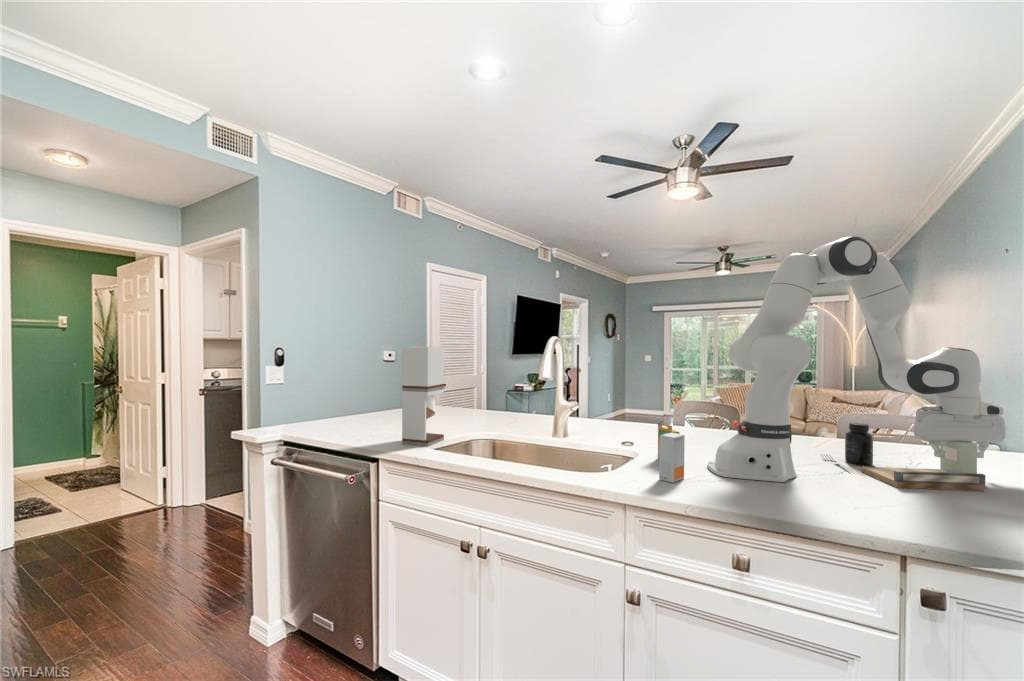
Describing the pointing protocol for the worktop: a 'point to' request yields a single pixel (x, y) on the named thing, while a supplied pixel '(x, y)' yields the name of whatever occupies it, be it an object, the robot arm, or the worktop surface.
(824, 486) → the worktop surface
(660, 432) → the crayon box
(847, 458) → the supplement bottle
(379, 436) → the worktop surface
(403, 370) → the coffee grinder
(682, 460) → the skincare box
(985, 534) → the worktop surface
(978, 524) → the worktop surface
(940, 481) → the shelf board
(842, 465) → the fork
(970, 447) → the carton
